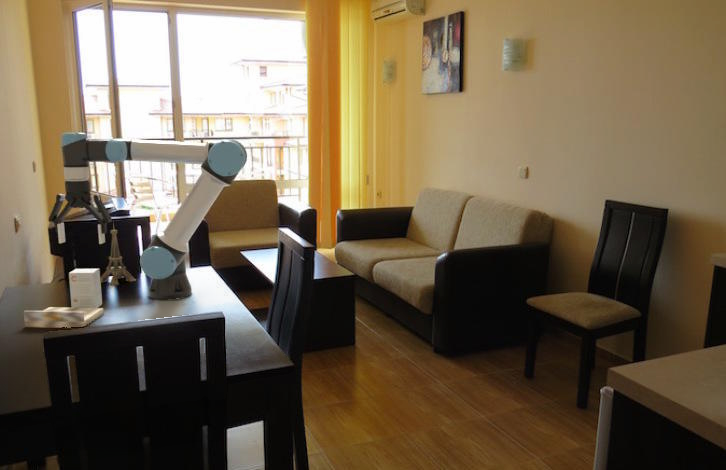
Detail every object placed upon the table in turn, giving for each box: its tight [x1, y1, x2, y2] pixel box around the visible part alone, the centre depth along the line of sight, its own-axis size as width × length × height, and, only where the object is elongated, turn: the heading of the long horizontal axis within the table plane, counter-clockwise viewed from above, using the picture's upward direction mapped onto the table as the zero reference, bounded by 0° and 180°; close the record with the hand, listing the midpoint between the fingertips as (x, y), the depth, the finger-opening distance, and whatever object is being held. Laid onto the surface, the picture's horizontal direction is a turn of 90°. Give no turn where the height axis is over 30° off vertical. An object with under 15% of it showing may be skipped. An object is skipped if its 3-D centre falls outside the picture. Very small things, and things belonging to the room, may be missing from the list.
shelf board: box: [23, 306, 105, 329], centre depth 183 cm, size 18×14×5 cm
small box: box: [68, 268, 103, 308], centre depth 196 cm, size 8×6×13 cm
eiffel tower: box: [100, 220, 137, 287], centre depth 230 cm, size 11×11×25 cm
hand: (82, 242), depth 194 cm, fingers open, 13 cm apart
